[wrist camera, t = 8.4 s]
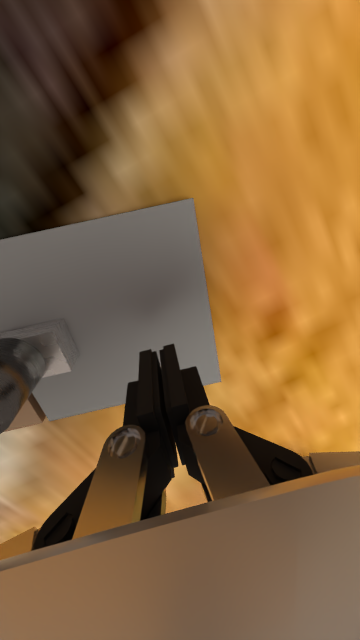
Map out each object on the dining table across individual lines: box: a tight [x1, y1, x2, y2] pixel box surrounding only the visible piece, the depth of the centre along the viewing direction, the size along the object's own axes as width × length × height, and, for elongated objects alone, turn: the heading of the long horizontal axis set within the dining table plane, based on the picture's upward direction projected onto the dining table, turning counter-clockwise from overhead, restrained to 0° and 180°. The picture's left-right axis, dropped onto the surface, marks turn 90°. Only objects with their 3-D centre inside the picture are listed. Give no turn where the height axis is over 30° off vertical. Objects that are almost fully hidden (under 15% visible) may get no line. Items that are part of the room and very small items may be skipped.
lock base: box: [0, 198, 221, 432], centre depth 17 cm, size 14×30×2 cm, turn 101°
